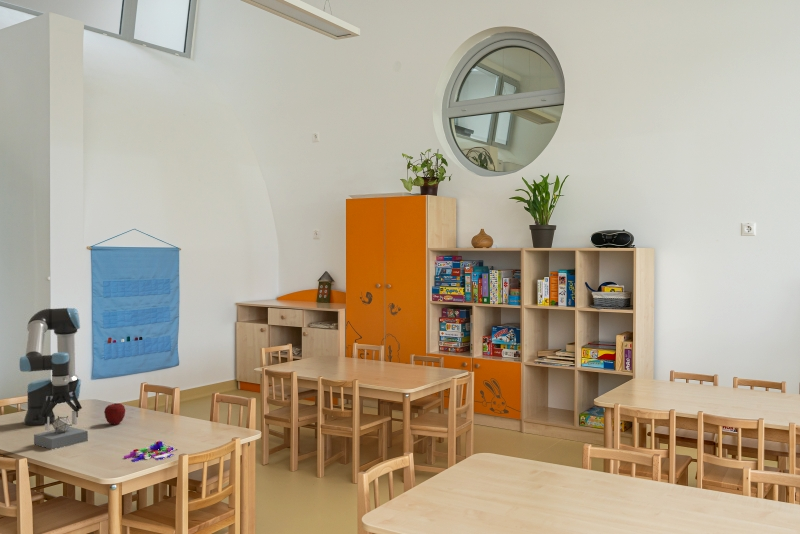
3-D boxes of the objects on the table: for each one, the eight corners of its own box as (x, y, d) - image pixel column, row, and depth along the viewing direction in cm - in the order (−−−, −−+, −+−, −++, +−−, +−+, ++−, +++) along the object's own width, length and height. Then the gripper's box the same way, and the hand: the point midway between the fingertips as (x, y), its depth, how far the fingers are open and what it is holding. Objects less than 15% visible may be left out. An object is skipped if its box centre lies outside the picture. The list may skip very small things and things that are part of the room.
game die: (65, 439, 324) (79, 421, 327) (56, 437, 316) (70, 419, 319) (52, 429, 326) (66, 412, 329) (43, 427, 318) (57, 409, 321)
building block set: (143, 466, 286) (143, 455, 286) (118, 457, 298) (117, 448, 298) (192, 452, 306) (192, 442, 306) (166, 445, 319) (166, 436, 319)
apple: (109, 421, 365) (109, 400, 365) (128, 421, 365) (128, 400, 365) (100, 426, 354) (100, 405, 354) (120, 426, 354) (120, 404, 354)
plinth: (34, 444, 319) (33, 434, 319) (69, 436, 334) (69, 426, 334) (51, 449, 310) (51, 439, 310) (87, 440, 325) (87, 430, 325)
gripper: (39, 389, 309) (39, 433, 310) (88, 381, 330) (89, 422, 330) (30, 387, 314) (31, 431, 314) (80, 379, 334) (80, 420, 335)
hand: (61, 427), depth 322 cm, fingers open, 13 cm apart
